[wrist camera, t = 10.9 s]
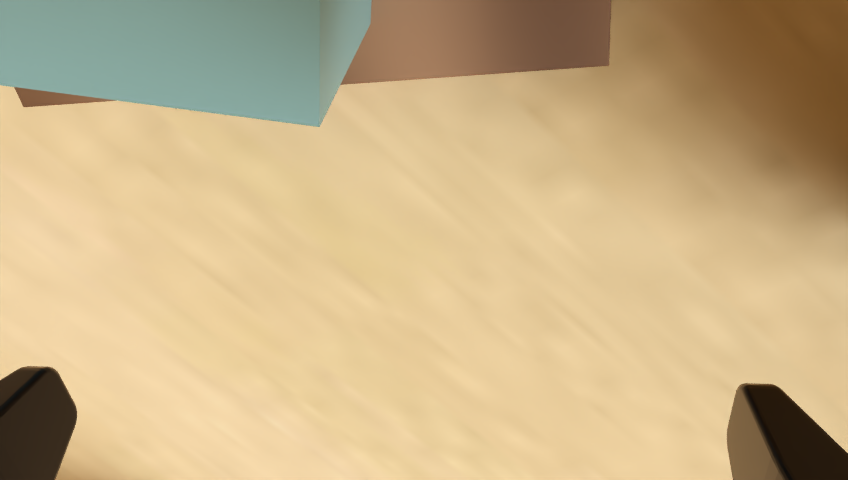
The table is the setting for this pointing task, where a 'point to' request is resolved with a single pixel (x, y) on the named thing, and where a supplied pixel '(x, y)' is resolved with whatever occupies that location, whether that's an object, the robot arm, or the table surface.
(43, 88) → the teal housing
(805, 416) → the robot arm
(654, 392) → the table surface
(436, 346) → the table surface
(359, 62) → the walnut stand
